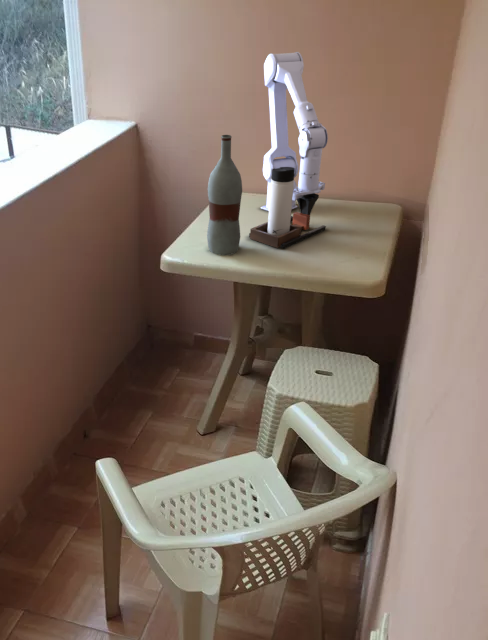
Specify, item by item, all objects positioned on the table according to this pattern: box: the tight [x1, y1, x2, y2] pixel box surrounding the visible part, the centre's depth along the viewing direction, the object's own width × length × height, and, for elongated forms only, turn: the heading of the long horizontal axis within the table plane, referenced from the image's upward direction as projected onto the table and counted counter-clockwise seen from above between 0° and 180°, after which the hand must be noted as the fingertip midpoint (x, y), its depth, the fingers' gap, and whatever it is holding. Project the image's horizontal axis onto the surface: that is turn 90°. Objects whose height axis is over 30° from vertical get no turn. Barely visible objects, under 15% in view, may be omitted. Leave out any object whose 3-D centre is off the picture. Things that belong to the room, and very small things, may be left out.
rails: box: [248, 215, 327, 249], centre depth 191 cm, size 20×13×1 cm, turn 136°
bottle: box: [206, 134, 243, 256], centre depth 173 cm, size 9×9×30 cm
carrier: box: [249, 211, 311, 249], centre depth 189 cm, size 18×10×4 cm, turn 136°
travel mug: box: [267, 167, 295, 236], centre depth 183 cm, size 6×7×20 cm
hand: (304, 218), depth 195 cm, fingers closed
